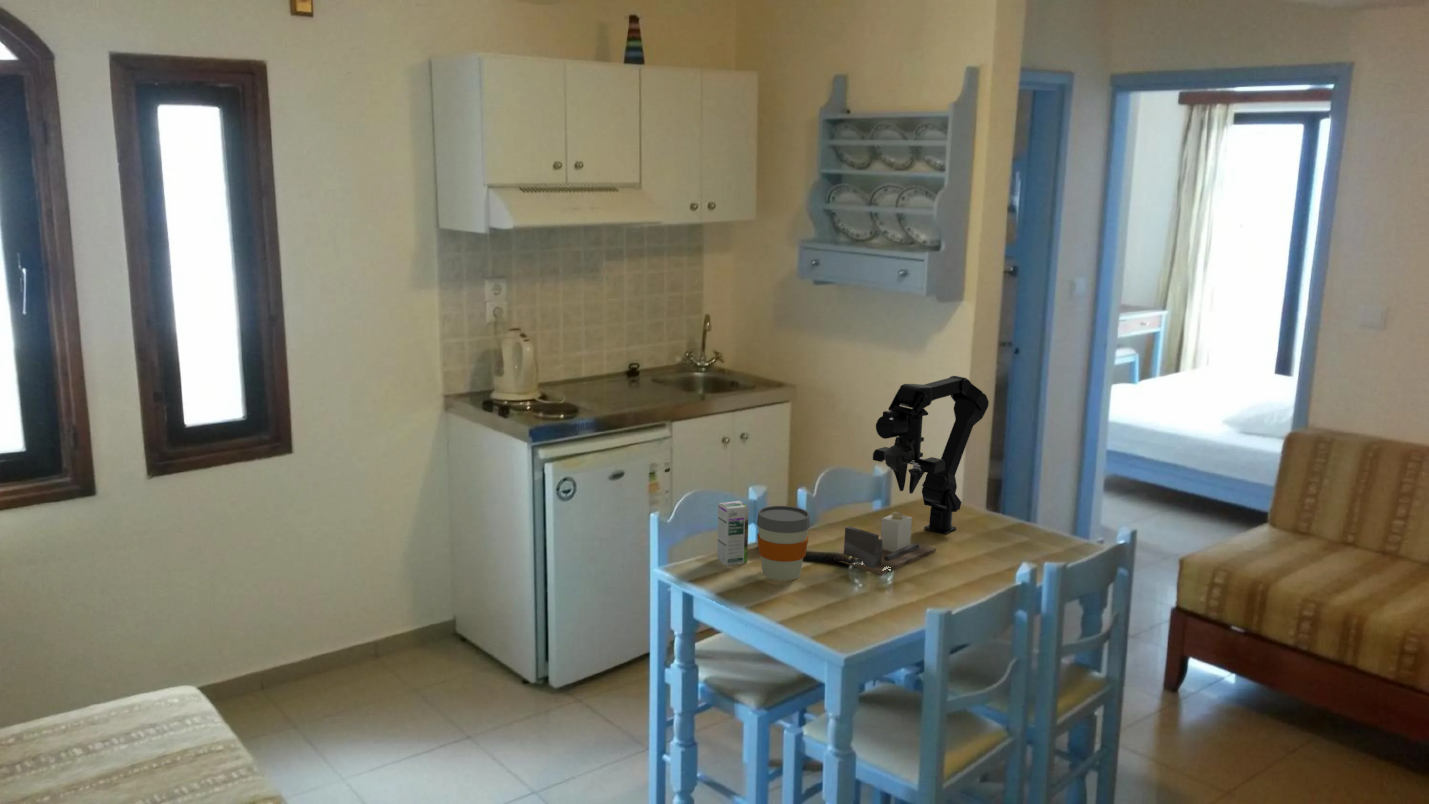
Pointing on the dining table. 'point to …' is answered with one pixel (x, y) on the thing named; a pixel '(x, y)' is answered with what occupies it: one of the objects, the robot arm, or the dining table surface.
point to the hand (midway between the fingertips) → (906, 492)
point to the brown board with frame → (880, 551)
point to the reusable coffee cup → (782, 541)
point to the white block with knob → (896, 532)
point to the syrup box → (732, 532)
